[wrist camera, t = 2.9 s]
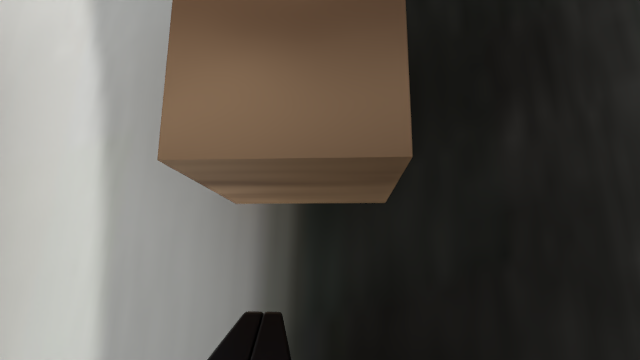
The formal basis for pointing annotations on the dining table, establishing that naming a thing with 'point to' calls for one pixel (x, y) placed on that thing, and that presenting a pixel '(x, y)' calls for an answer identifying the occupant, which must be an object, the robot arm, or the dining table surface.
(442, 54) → the dining table surface
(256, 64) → the walnut block
